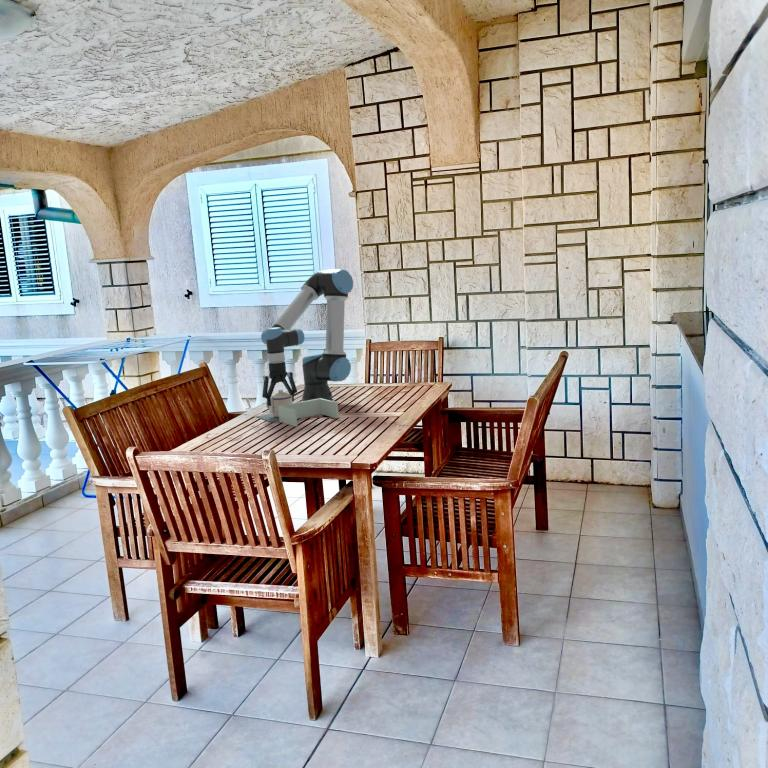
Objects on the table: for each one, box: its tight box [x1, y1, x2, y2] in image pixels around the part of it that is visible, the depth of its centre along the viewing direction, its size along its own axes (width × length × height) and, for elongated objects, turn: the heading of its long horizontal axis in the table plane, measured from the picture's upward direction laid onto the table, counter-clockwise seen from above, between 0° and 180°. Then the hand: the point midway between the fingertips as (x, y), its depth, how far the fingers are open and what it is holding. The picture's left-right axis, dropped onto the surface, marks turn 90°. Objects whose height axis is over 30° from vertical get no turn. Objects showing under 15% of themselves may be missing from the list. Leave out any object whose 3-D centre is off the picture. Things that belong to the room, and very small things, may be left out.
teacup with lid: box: [265, 389, 291, 417], centre depth 335 cm, size 12×9×12 cm
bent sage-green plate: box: [278, 398, 340, 427], centre depth 324 cm, size 21×16×7 cm
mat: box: [255, 413, 280, 423], centre depth 337 cm, size 18×18×1 cm
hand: (281, 410), depth 336 cm, fingers closed on teacup with lid, 9 cm apart
